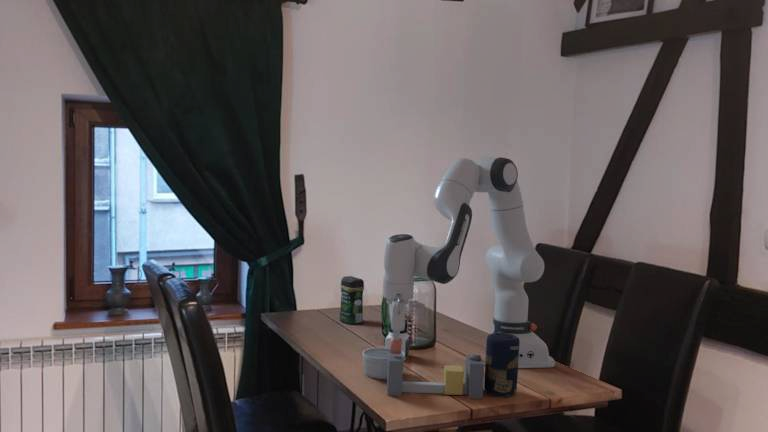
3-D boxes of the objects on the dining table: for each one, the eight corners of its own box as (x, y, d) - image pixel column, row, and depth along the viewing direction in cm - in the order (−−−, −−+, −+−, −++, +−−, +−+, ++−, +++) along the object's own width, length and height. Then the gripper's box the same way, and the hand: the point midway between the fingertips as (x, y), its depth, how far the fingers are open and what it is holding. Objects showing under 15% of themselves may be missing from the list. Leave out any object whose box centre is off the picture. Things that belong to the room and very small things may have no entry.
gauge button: (401, 351, 206) (401, 337, 206) (401, 354, 203) (402, 340, 202) (390, 350, 206) (390, 337, 205) (390, 353, 203) (390, 340, 202)
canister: (498, 385, 213) (501, 326, 212) (523, 394, 206) (526, 333, 205) (476, 391, 207) (480, 331, 206) (502, 400, 200) (505, 338, 199)
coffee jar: (336, 320, 289) (337, 275, 287) (352, 318, 294) (353, 274, 292) (349, 325, 281) (351, 279, 280) (365, 323, 286) (367, 278, 285)
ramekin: (375, 365, 229) (376, 344, 228) (411, 373, 222) (412, 351, 222) (353, 375, 218) (354, 353, 217) (390, 384, 211) (391, 361, 210)
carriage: (460, 388, 208) (461, 365, 208) (462, 394, 203) (463, 371, 202) (443, 387, 208) (444, 365, 208) (445, 394, 203) (446, 371, 202)
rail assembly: (477, 388, 210) (479, 351, 209) (482, 398, 201) (484, 360, 200) (387, 385, 210) (388, 348, 209) (387, 395, 201) (389, 357, 200)
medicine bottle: (405, 360, 236) (407, 325, 235) (384, 358, 237) (385, 323, 236) (409, 355, 243) (410, 320, 242) (388, 353, 244) (390, 318, 243)
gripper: (411, 298, 192) (408, 348, 194) (407, 285, 213) (405, 330, 214) (387, 298, 192) (385, 348, 193) (386, 284, 213) (384, 329, 214)
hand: (396, 338), depth 204 cm, fingers closed, pressing on gauge button
